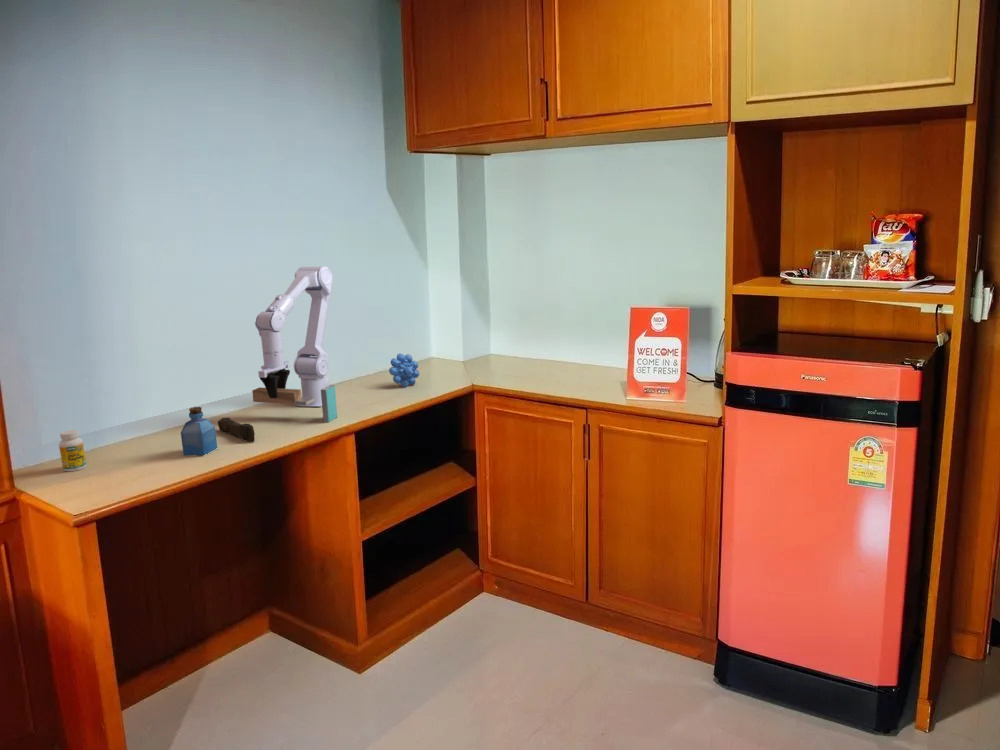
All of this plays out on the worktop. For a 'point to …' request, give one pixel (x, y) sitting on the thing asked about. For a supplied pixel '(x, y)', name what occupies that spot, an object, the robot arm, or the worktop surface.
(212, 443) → the perfume bottle
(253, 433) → the hand tool
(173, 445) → the worktop surface
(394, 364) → the grapes
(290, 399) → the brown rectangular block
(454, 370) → the worktop surface
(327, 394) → the tile
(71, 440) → the supplement bottle
